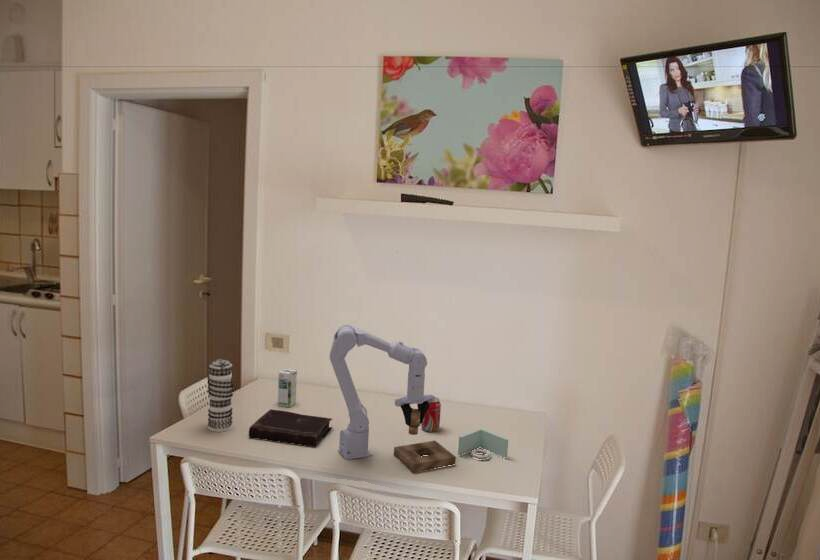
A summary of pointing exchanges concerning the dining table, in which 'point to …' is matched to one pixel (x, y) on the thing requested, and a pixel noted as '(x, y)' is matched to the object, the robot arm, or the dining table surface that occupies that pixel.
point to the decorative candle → (220, 395)
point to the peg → (414, 422)
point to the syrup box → (287, 387)
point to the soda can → (432, 416)
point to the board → (416, 463)
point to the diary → (290, 428)
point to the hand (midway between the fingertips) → (413, 423)
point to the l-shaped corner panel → (483, 444)
